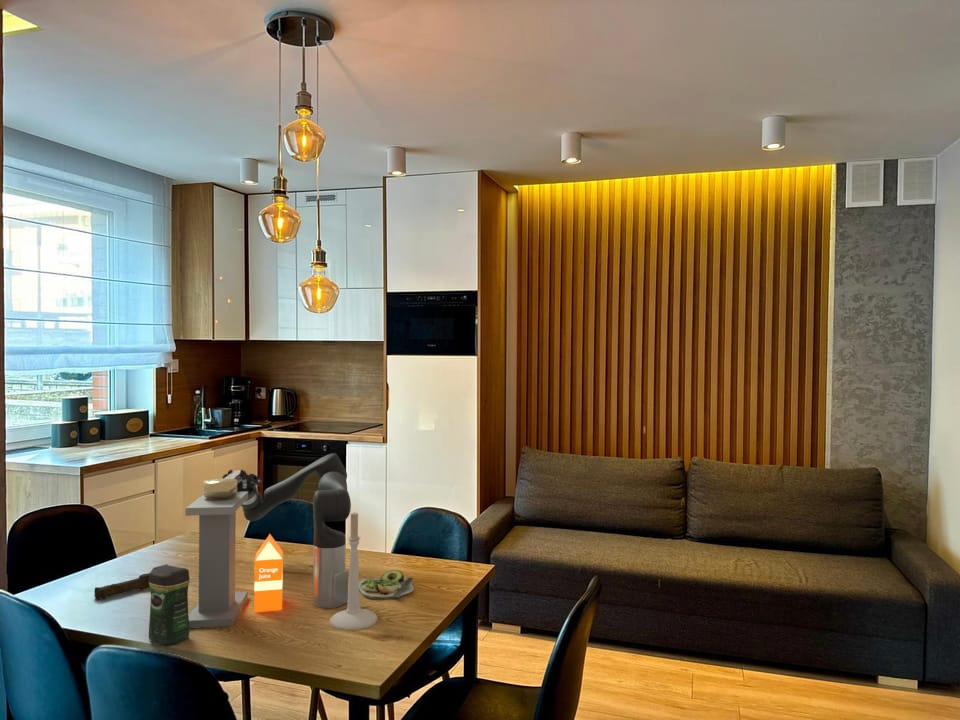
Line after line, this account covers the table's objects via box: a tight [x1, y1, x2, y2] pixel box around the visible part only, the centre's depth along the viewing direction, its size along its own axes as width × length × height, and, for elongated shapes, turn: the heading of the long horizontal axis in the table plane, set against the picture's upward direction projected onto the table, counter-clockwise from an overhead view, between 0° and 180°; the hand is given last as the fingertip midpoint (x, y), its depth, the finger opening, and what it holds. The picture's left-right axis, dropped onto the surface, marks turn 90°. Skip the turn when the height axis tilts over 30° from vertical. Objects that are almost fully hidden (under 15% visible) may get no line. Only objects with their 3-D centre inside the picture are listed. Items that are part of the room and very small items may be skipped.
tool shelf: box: [185, 492, 249, 629], centre depth 194 cm, size 22×12×32 cm, turn 8°
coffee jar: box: [148, 564, 191, 646], centre depth 175 cm, size 10×8×19 cm
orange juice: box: [253, 533, 284, 613], centre depth 200 cm, size 8×9×20 cm
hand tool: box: [93, 572, 150, 601], centre depth 210 cm, size 19×4×5 cm, turn 137°
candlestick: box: [329, 511, 378, 631], centre depth 188 cm, size 13×13×30 cm
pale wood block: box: [202, 469, 242, 498], centre depth 207 cm, size 30×9×4 cm, turn 8°
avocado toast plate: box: [359, 569, 415, 600], centre depth 213 cm, size 19×18×5 cm
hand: (235, 472), depth 217 cm, fingers closed on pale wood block, 2 cm apart
